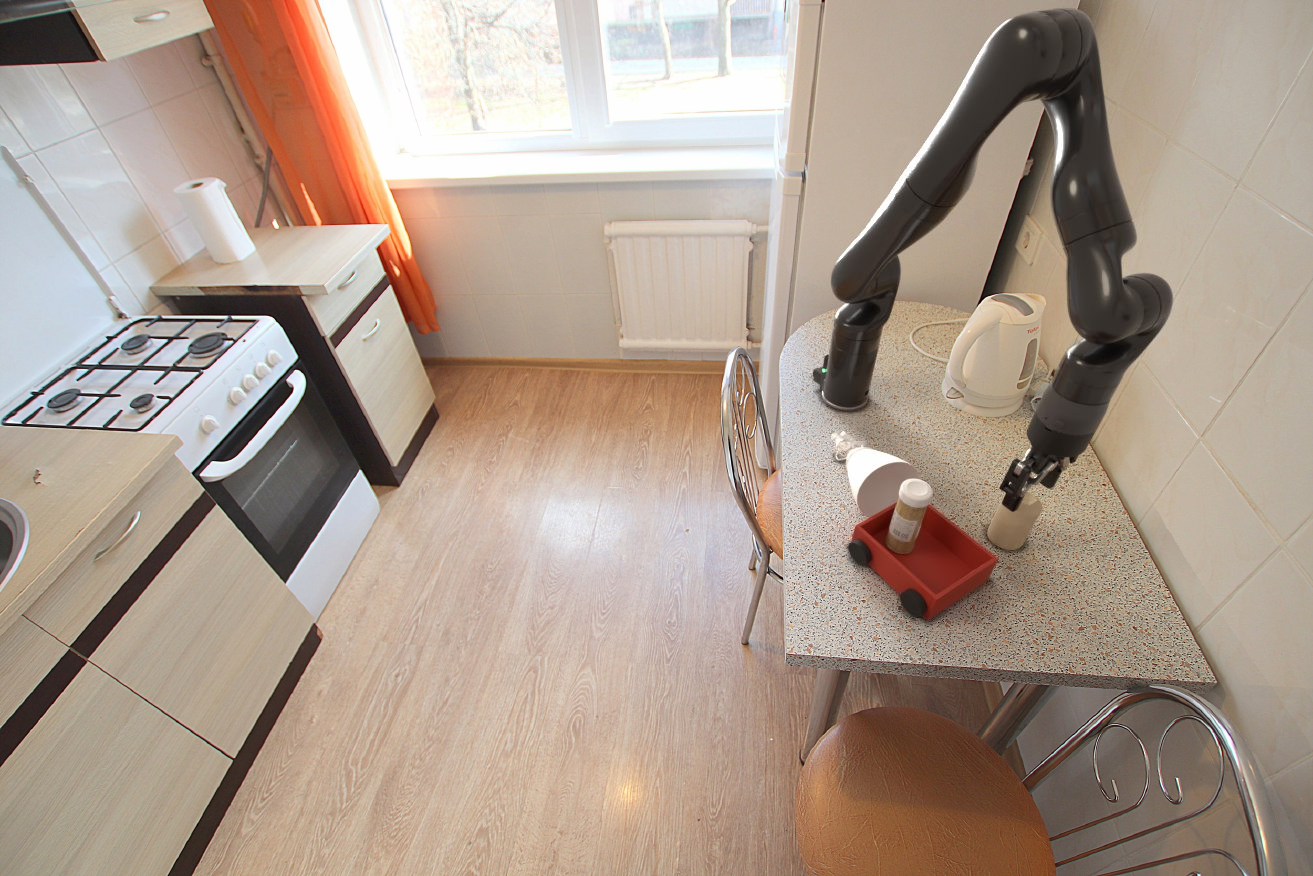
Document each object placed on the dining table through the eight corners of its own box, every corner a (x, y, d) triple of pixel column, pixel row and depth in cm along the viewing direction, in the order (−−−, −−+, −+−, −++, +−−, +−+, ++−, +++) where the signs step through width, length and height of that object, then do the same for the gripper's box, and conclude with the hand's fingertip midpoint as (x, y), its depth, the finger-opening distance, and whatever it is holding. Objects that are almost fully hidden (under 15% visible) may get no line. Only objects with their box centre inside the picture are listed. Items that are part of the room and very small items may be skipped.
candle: (1028, 535, 101) (1051, 494, 95) (1016, 556, 98) (1039, 515, 92) (993, 519, 104) (1013, 478, 97) (981, 539, 101) (1000, 498, 95)
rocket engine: (840, 403, 114) (890, 450, 98) (881, 430, 119) (934, 479, 103) (801, 450, 117) (843, 503, 102) (842, 474, 122) (888, 529, 107)
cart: (849, 547, 102) (855, 525, 98) (907, 514, 106) (914, 492, 102) (927, 621, 91) (936, 599, 87) (987, 580, 95) (999, 558, 92)
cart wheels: (846, 553, 101) (850, 537, 98) (915, 513, 106) (920, 497, 103) (917, 622, 91) (924, 607, 88) (989, 574, 96) (998, 558, 94)
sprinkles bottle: (919, 546, 100) (940, 490, 91) (900, 560, 98) (919, 504, 89) (896, 529, 103) (914, 473, 94) (878, 541, 101) (894, 486, 92)
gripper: (1074, 383, 88) (1035, 464, 99) (1008, 419, 84) (974, 500, 94) (1126, 410, 84) (1079, 492, 94) (1060, 450, 79) (1018, 531, 89)
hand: (1027, 496), depth 94 cm, fingers open, 8 cm apart
